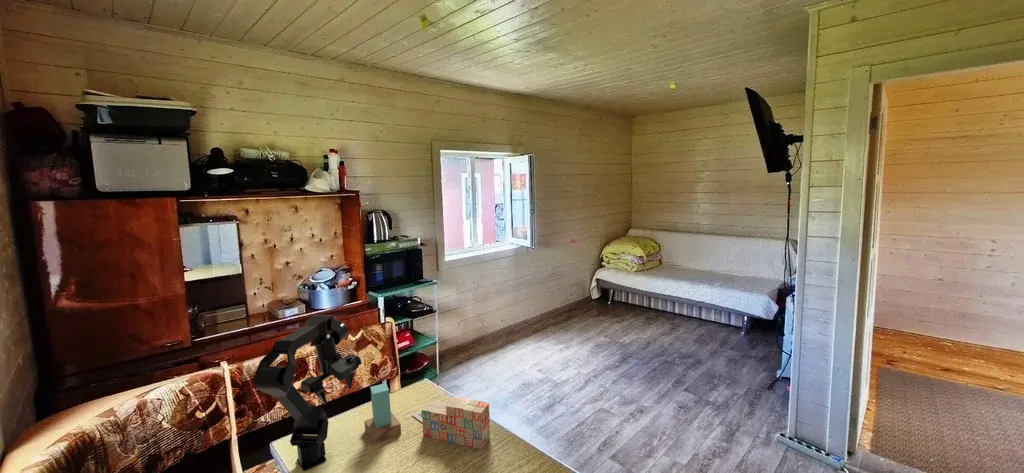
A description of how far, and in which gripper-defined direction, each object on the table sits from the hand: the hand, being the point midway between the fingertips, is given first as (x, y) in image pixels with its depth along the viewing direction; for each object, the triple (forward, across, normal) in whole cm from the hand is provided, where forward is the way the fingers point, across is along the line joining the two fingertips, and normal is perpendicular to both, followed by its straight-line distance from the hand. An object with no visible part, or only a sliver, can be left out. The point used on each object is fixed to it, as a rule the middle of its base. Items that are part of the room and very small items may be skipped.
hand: (338, 396), depth 139 cm
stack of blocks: (+18, +16, -33) cm, 41 cm away
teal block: (+11, +6, -11) cm, 17 cm away
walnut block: (+15, +6, -11) cm, 19 cm away
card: (+17, +22, -16) cm, 32 cm away
